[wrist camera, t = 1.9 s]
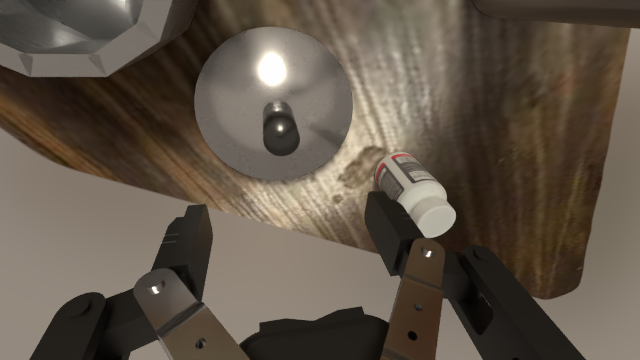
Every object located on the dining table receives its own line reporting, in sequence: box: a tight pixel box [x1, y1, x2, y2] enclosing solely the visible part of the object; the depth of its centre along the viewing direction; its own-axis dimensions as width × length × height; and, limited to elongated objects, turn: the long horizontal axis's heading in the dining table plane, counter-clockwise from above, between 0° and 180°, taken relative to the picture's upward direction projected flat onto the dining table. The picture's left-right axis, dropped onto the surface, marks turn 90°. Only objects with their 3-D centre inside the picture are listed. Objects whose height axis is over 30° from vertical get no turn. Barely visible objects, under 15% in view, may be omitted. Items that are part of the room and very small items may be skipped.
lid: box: [194, 26, 353, 180], centre depth 24 cm, size 14×14×8 cm
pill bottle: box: [375, 152, 456, 238], centre depth 30 cm, size 5×5×10 cm
